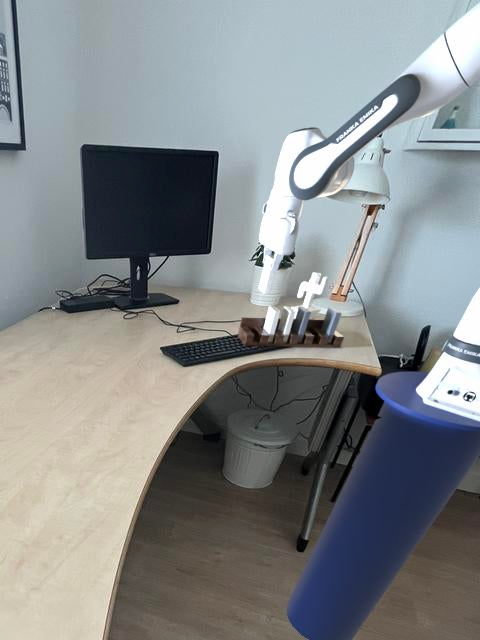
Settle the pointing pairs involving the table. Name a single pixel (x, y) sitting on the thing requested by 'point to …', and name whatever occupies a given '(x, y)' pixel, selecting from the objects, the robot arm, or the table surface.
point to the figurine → (311, 293)
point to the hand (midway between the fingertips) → (269, 267)
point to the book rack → (313, 336)
